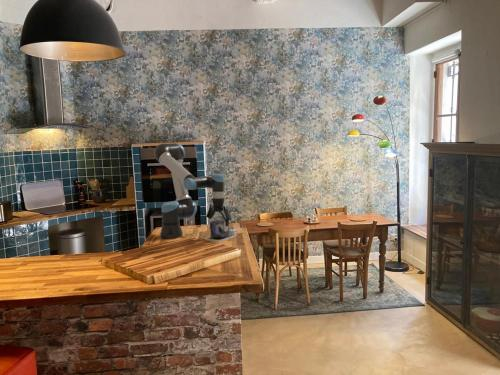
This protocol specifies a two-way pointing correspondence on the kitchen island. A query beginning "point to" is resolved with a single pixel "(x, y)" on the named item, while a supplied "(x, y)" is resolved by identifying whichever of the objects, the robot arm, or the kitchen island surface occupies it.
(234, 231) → the die
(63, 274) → the kitchen island surface
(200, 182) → the robot arm
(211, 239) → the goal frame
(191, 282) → the kitchen island surface
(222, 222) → the small box
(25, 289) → the kitchen island surface
